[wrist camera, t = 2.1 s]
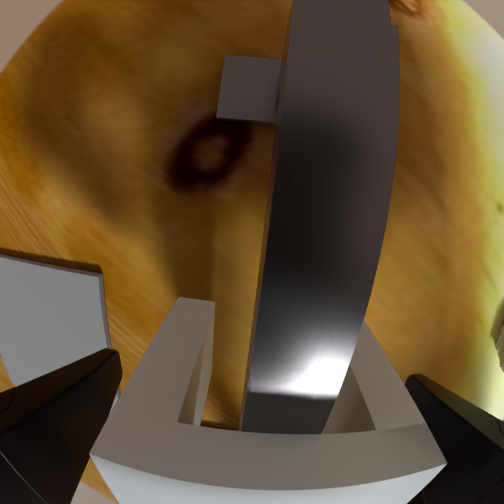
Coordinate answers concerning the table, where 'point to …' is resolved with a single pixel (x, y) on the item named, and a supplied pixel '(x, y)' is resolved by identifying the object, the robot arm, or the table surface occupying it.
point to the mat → (49, 317)
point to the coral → (501, 347)
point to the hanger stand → (317, 201)
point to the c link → (259, 444)
